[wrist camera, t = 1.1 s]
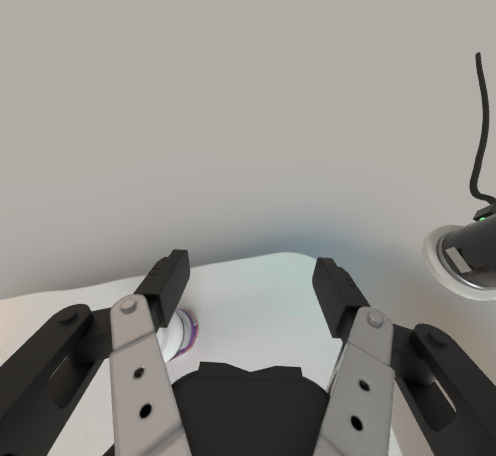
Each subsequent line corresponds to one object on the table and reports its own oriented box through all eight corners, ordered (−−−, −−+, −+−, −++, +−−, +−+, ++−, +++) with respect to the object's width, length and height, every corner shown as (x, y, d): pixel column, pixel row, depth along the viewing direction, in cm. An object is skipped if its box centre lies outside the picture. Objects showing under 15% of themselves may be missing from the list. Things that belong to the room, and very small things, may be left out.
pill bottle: (156, 354, 24) (99, 377, 15) (163, 309, 26) (118, 306, 18) (197, 354, 24) (164, 377, 15) (201, 308, 26) (174, 305, 17)
